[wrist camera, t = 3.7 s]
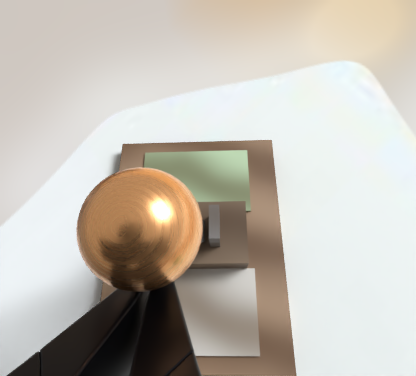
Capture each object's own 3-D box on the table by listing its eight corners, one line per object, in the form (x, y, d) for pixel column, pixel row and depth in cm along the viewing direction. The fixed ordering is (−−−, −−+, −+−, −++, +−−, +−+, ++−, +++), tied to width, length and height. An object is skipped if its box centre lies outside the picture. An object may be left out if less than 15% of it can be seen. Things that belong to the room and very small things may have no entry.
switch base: (292, 373, 18) (315, 390, 13) (96, 371, 18) (54, 387, 14) (269, 146, 24) (280, 106, 20) (126, 150, 25) (104, 112, 21)
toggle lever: (215, 256, 18) (198, 305, 6) (166, 256, 18) (43, 305, 6) (214, 206, 18) (197, 151, 6) (166, 207, 19) (53, 154, 6)
